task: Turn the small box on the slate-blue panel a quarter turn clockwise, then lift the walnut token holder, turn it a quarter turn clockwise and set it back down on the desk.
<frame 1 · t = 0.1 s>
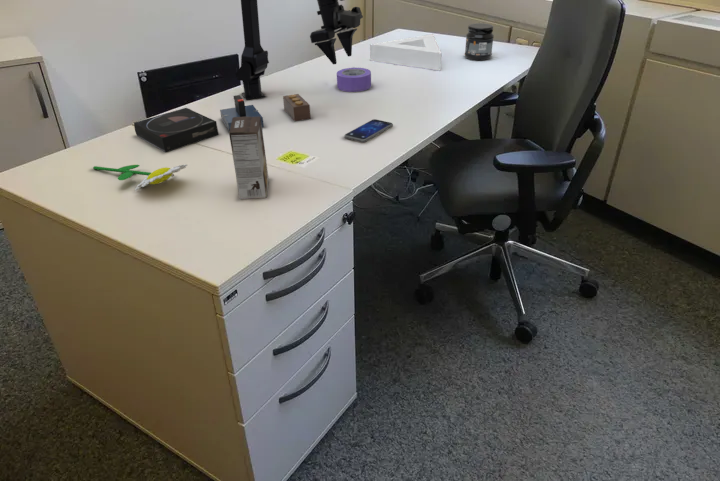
hand: (342, 60, 162), 15 cm above the table, tool pointing down, fingers open, 9 cm apart
supplement container: (477, 58, 218), on the table
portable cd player: (177, 135, 157), on the table
dial panel: (242, 123, 163), on the table
token holder: (291, 108, 173), on the table
triangle block: (403, 60, 217), on the table
smartphone: (369, 132, 156), on the table
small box: (239, 105, 160), point 5 cm above the table, hinge at 0.0°
coffee box: (254, 190, 128), on the table
tape roll: (354, 87, 190), on the table
decorative flower: (136, 181, 133), on the table
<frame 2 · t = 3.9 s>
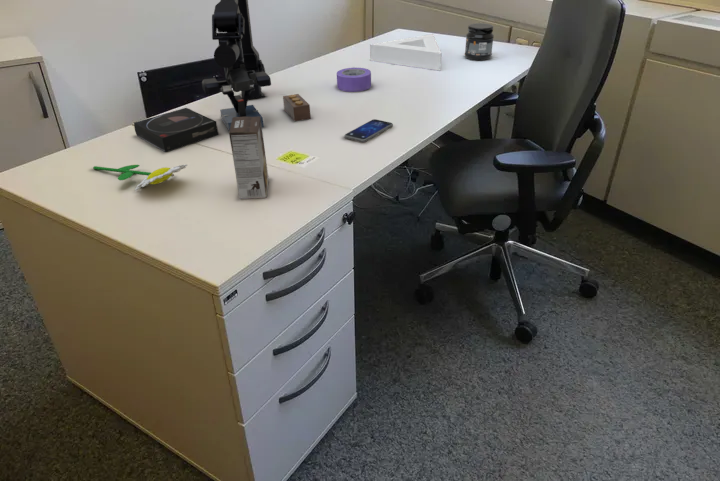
hand: (240, 111, 162), 4 cm above the table, tool pointing down, fingers closed on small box, 2 cm apart
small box: (239, 105, 160), point 5 cm above the table, hinge at 0.0°, touching gripper
everything else where it was.
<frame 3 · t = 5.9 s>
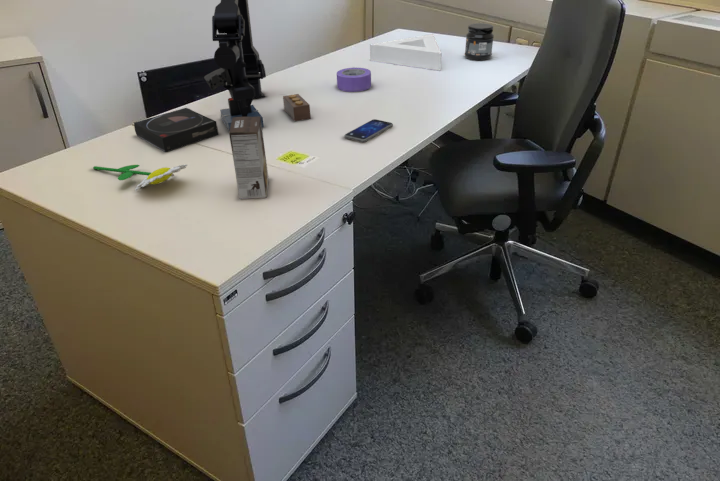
hand: (240, 112, 162), 3 cm above the table, tool pointing down, fingers open, 9 cm apart
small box: (239, 105, 160), point 5 cm above the table, hinge at -89.5°
everything else where it was.
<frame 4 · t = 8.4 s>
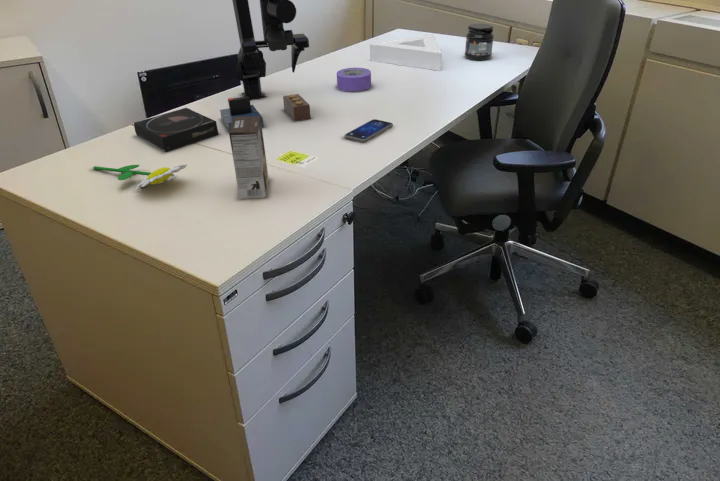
hand: (277, 73, 160), 13 cm above the table, tool pointing down, fingers open, 9 cm apart
nothing on the table moved.
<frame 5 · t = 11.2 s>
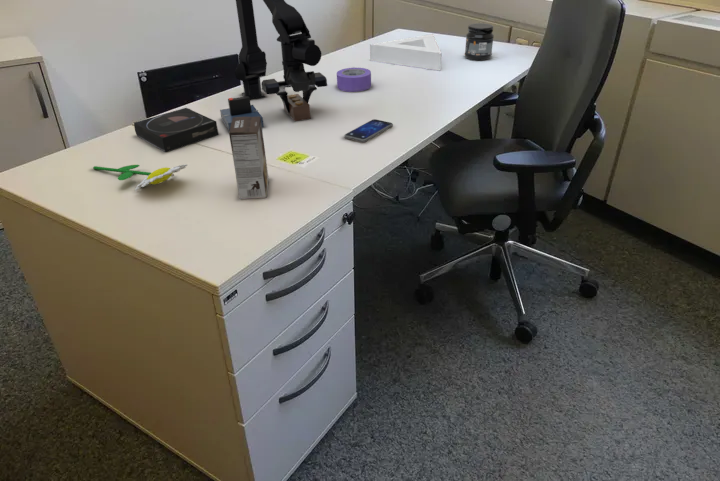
hand: (296, 111, 168), 1 cm above the table, tool pointing down, fingers closed on token holder, 5 cm apart
token holder: (291, 108, 173), on the table, touching gripper
everything else where it was.
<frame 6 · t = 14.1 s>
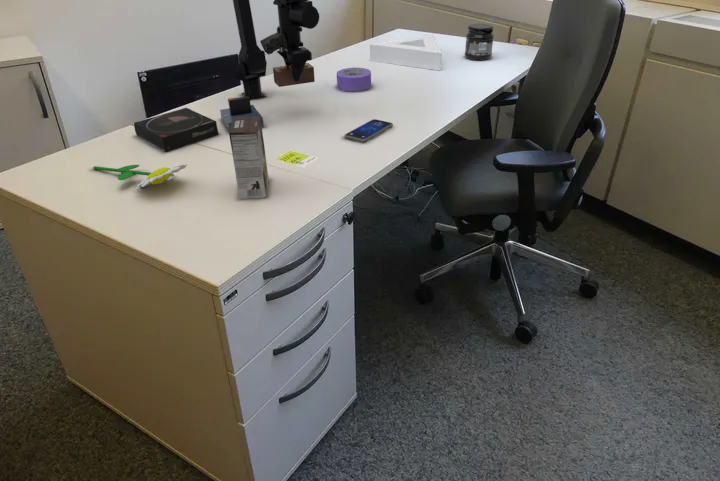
hand: (294, 78, 163), 11 cm above the table, tool pointing down, fingers closed on token holder, 5 cm apart
token holder: (312, 79, 165), point 10 cm above the table, touching gripper
everything else where it was.
when the fingers open (1 cm above the table, at t = 17.3 s): token holder stays where it is, on the table.
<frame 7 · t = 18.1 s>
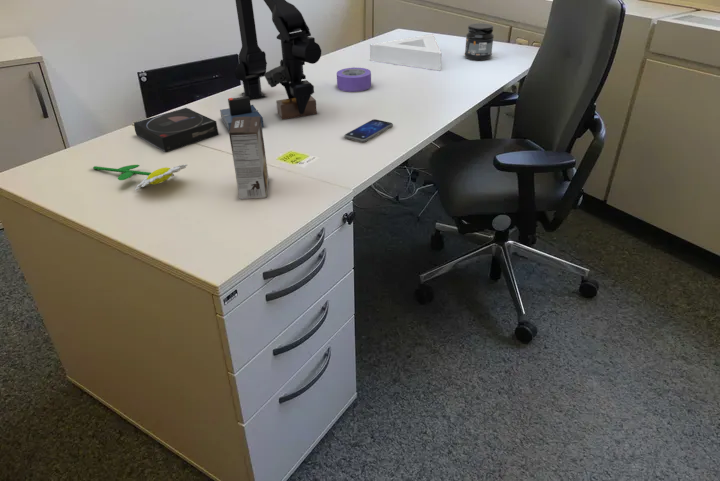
hand: (296, 109, 168), 2 cm above the table, tool pointing down, fingers open, 9 cm apart
token holder: (314, 111, 171), on the table
everything else where it was.
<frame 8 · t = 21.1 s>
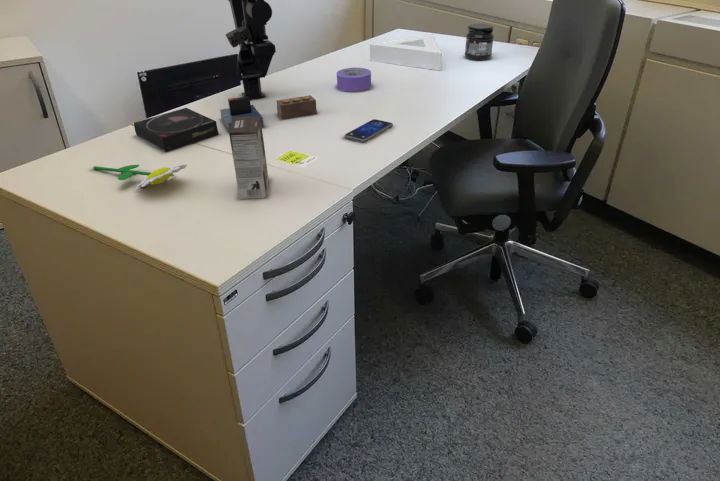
hand: (260, 71, 166), 12 cm above the table, tool pointing down, fingers open, 9 cm apart
nothing on the table moved.
at the end: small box at -90° (first picture: +0°); token holder 0.0 cm from the target spot, on the table; token holder tilted 0° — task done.
